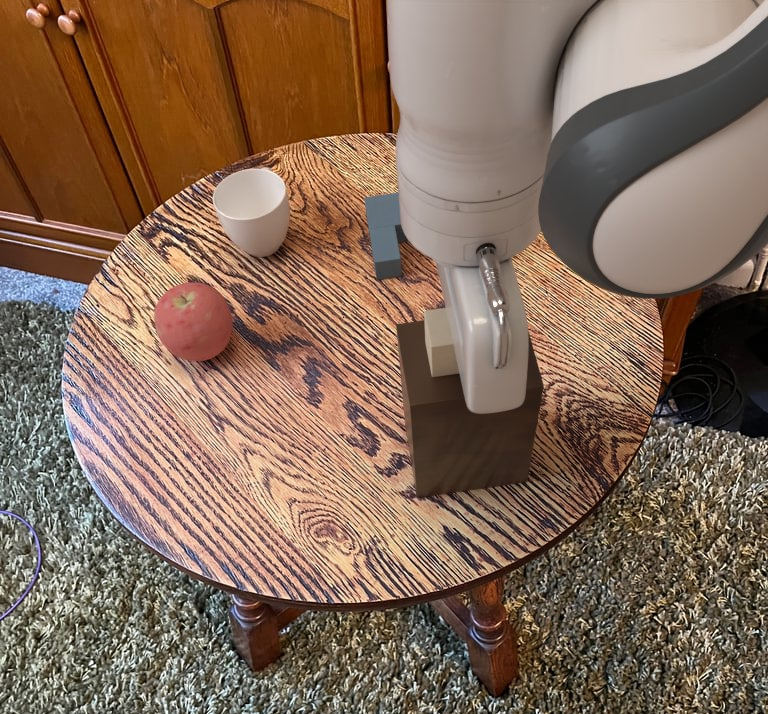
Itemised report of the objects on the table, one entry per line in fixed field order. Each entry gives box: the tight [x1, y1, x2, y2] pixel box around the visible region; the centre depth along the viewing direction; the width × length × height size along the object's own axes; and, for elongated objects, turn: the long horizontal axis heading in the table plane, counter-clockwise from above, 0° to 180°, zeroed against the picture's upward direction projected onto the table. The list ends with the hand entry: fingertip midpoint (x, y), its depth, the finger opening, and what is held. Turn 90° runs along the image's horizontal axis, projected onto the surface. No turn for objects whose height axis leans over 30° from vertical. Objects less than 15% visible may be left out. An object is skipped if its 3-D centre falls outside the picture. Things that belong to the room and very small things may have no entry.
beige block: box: [423, 307, 459, 377], centre depth 57 cm, size 6×4×4 cm, turn 97°
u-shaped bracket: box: [363, 192, 409, 281], centre depth 83 cm, size 13×10×2 cm
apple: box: [153, 282, 234, 362], centre depth 76 cm, size 7×7×8 cm
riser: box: [395, 319, 545, 499], centre depth 65 cm, size 10×8×14 cm
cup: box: [212, 166, 291, 258], centre depth 83 cm, size 8×10×7 cm
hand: (468, 346), depth 58 cm, fingers open, 4 cm apart
